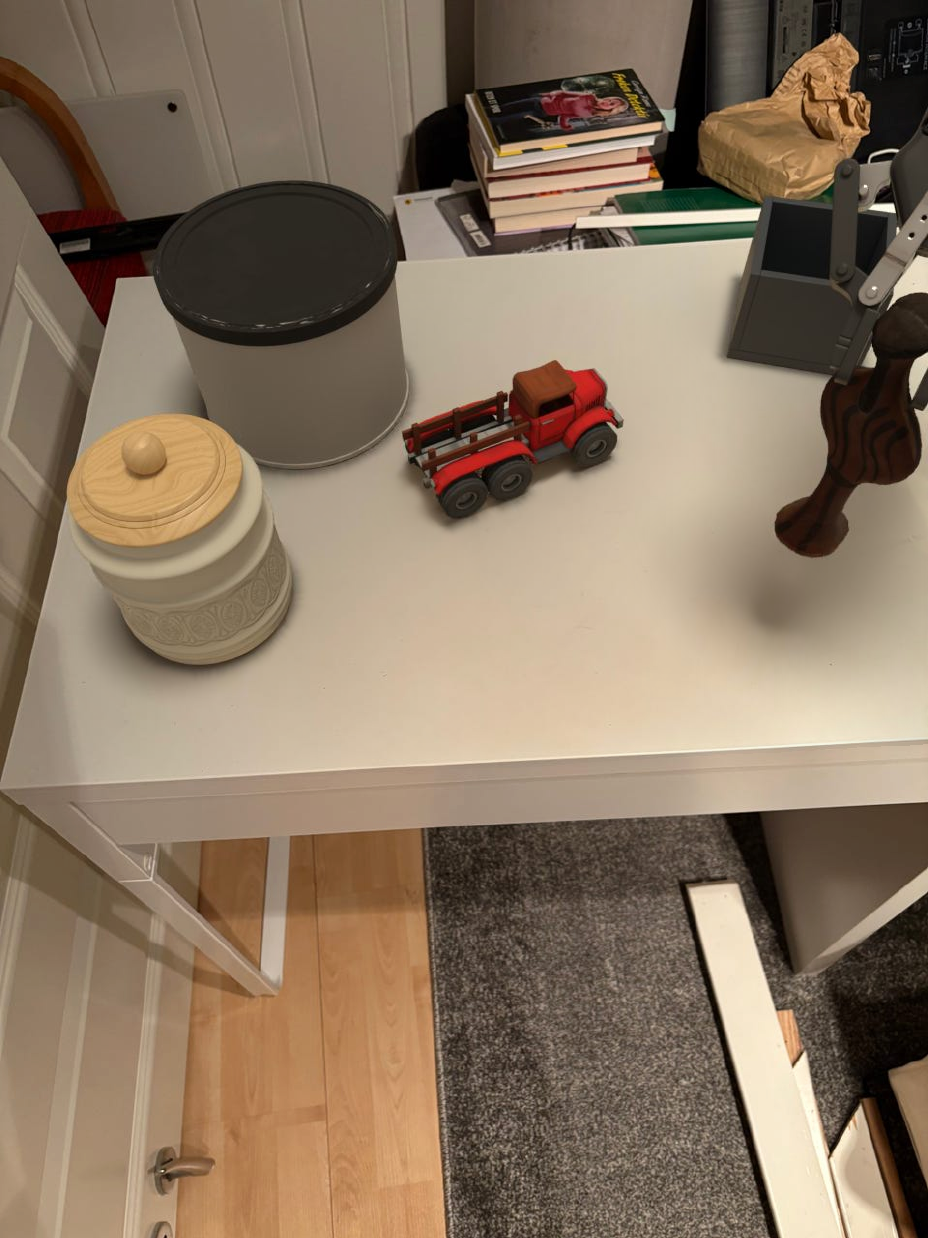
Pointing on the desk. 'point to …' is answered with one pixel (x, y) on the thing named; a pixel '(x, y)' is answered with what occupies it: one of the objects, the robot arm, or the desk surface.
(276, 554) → the jar
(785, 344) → the bin
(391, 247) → the container
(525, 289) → the desk surface
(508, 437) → the toy truck
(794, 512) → the figurine
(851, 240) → the robot arm
